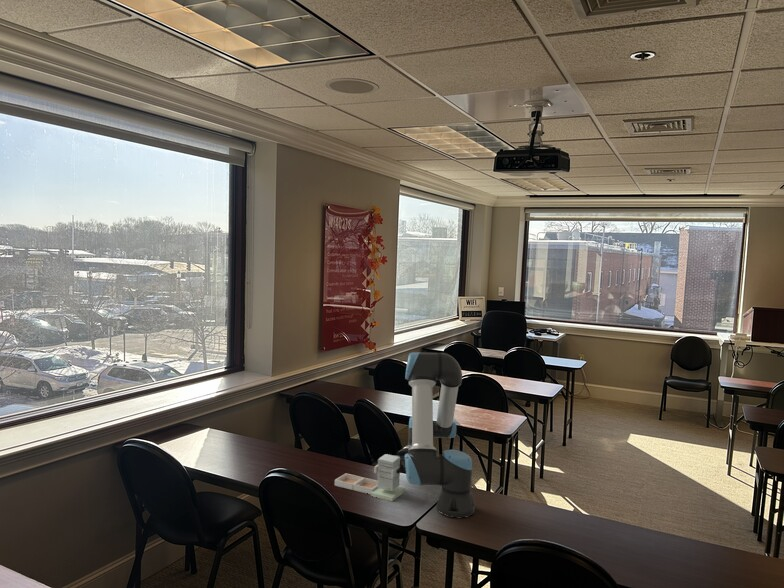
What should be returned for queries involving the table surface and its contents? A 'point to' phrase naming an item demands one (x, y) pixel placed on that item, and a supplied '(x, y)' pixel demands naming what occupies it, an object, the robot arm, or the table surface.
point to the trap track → (367, 487)
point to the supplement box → (388, 472)
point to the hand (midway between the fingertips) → (383, 471)
